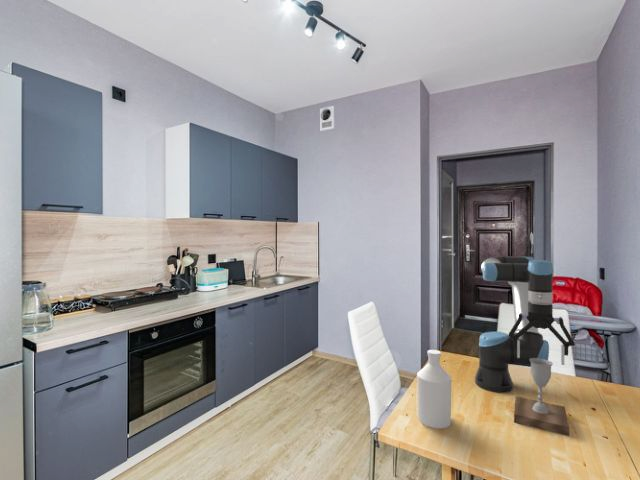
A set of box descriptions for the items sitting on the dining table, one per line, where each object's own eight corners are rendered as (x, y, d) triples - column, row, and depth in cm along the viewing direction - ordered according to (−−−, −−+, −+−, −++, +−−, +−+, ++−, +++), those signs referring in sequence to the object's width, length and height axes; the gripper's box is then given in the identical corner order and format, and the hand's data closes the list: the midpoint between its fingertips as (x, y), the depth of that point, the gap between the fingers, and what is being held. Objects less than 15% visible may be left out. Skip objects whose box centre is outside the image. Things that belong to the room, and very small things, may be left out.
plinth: (514, 422, 121) (514, 414, 121) (515, 403, 135) (515, 396, 135) (569, 436, 113) (569, 427, 113) (564, 414, 126) (564, 406, 126)
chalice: (548, 407, 126) (549, 359, 126) (554, 416, 119) (555, 366, 119) (526, 404, 128) (527, 357, 128) (531, 413, 122) (531, 363, 122)
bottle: (432, 431, 116) (431, 359, 115) (410, 415, 127) (410, 348, 126) (458, 424, 120) (458, 354, 120) (435, 408, 131) (435, 344, 131)
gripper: (500, 301, 127) (500, 357, 127) (584, 308, 114) (584, 370, 114) (502, 297, 133) (502, 351, 133) (581, 304, 120) (581, 363, 120)
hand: (539, 360), depth 124 cm, fingers open, 13 cm apart
